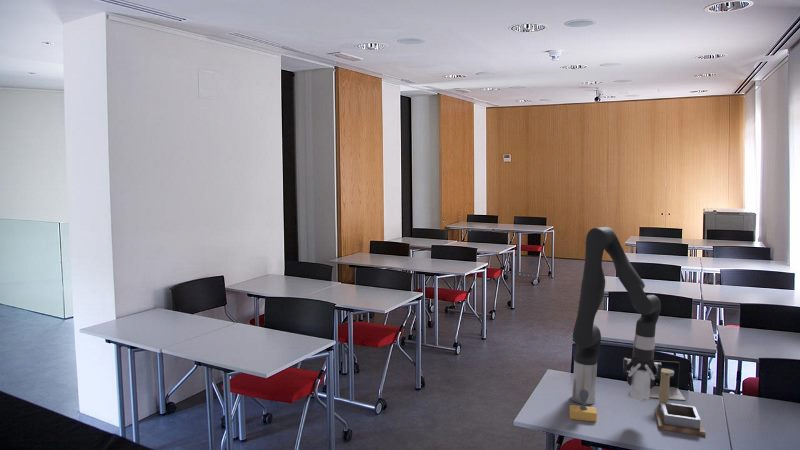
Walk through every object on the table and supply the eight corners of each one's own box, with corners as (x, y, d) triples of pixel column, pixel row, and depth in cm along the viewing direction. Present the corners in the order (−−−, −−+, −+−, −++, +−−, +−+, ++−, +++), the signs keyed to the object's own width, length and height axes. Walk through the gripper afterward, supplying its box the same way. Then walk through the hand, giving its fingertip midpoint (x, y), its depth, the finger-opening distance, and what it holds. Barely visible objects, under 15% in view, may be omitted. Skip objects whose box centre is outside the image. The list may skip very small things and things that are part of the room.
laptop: (641, 397, 251) (643, 368, 249) (635, 386, 263) (637, 358, 262) (685, 401, 248) (688, 372, 246) (677, 389, 260) (679, 362, 258)
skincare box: (649, 400, 225) (652, 371, 224) (641, 402, 224) (644, 372, 222) (637, 394, 231) (639, 365, 229) (628, 396, 229) (631, 367, 227)
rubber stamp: (594, 415, 233) (596, 387, 231) (596, 422, 227) (598, 393, 226) (569, 413, 235) (570, 384, 233) (570, 419, 229) (571, 390, 228)
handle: (672, 408, 240) (675, 373, 239) (655, 406, 242) (658, 371, 240) (670, 403, 245) (673, 369, 243) (654, 401, 247) (656, 367, 245)
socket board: (659, 429, 222) (660, 415, 221) (655, 412, 236) (656, 399, 235) (705, 436, 217) (706, 422, 216) (698, 418, 231) (699, 405, 230)
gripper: (624, 346, 223) (621, 387, 225) (665, 351, 218) (661, 393, 221) (623, 340, 230) (620, 379, 232) (663, 345, 225) (659, 385, 228)
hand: (640, 386), depth 227 cm, fingers closed on skincare box, 7 cm apart
